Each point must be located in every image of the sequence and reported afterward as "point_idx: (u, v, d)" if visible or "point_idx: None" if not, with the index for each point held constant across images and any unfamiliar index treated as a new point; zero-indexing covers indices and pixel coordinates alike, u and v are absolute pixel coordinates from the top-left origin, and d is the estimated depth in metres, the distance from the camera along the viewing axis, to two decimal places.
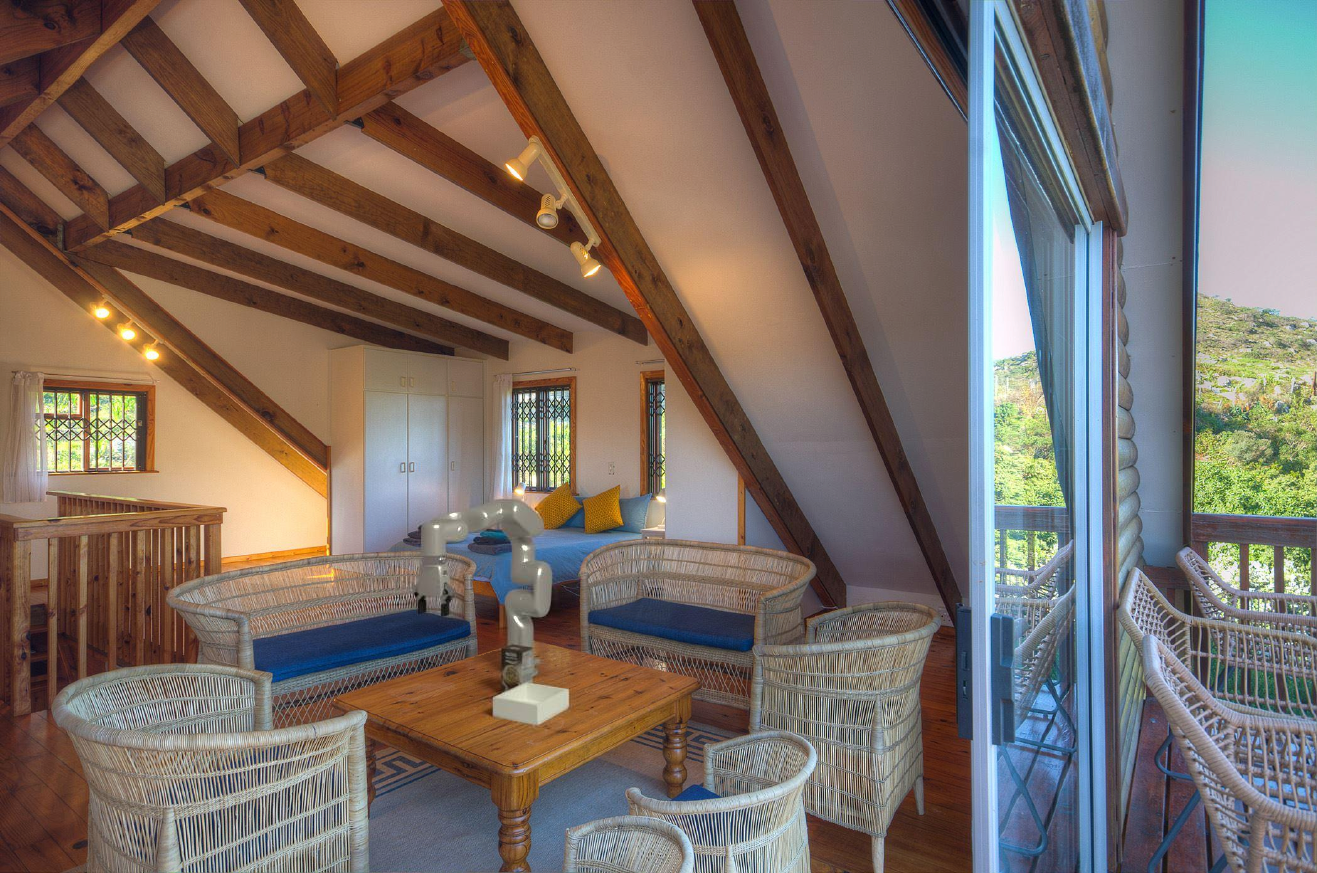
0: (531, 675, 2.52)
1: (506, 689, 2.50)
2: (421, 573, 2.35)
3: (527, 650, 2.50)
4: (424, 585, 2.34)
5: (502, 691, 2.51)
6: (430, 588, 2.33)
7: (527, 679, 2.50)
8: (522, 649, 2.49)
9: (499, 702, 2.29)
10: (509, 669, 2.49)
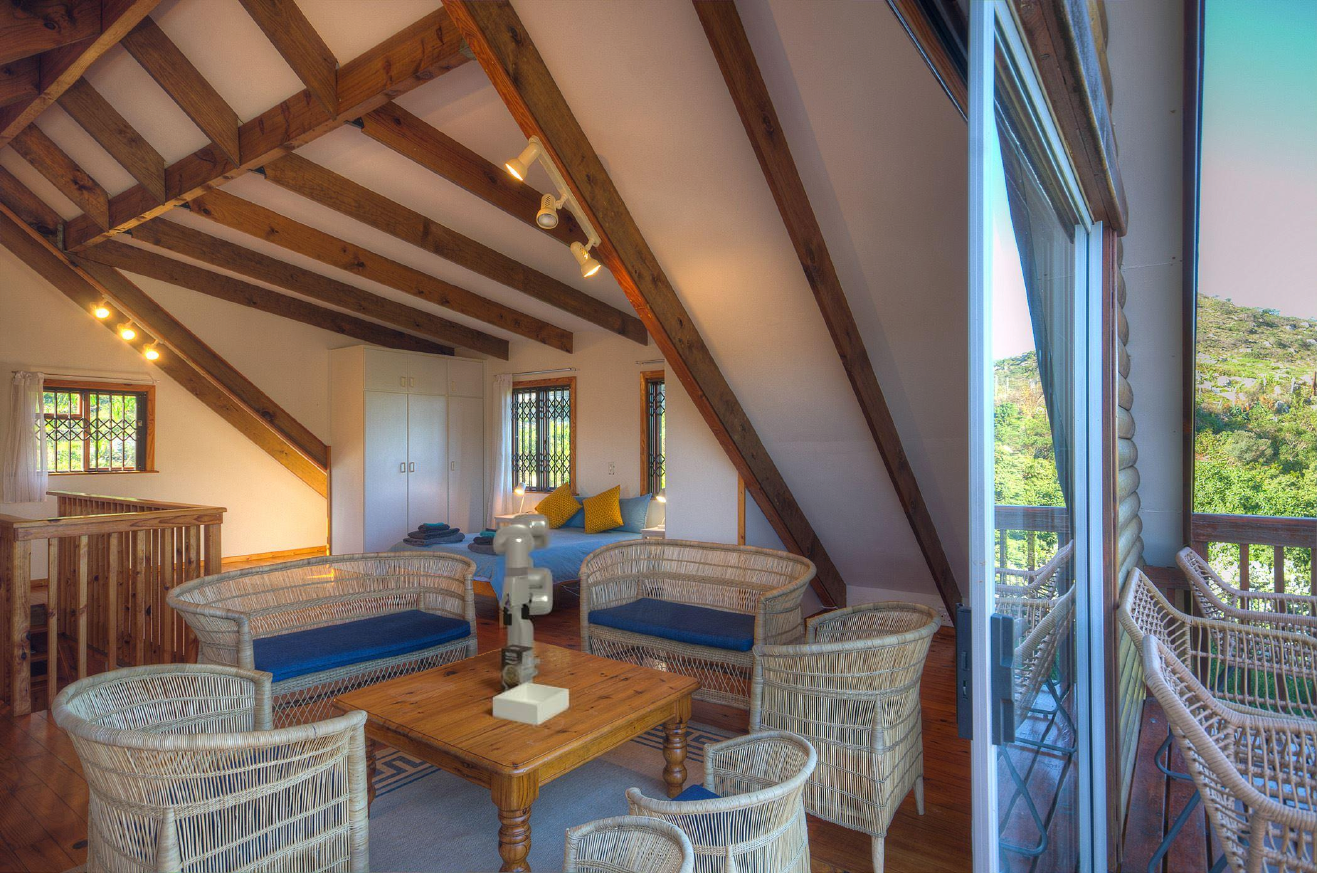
0: (531, 675, 2.52)
1: (506, 689, 2.50)
2: (516, 585, 2.49)
3: (527, 650, 2.50)
4: (519, 595, 2.50)
5: (502, 691, 2.51)
6: (523, 596, 2.52)
7: (527, 679, 2.50)
8: (522, 649, 2.49)
9: (499, 702, 2.29)
10: (509, 669, 2.49)
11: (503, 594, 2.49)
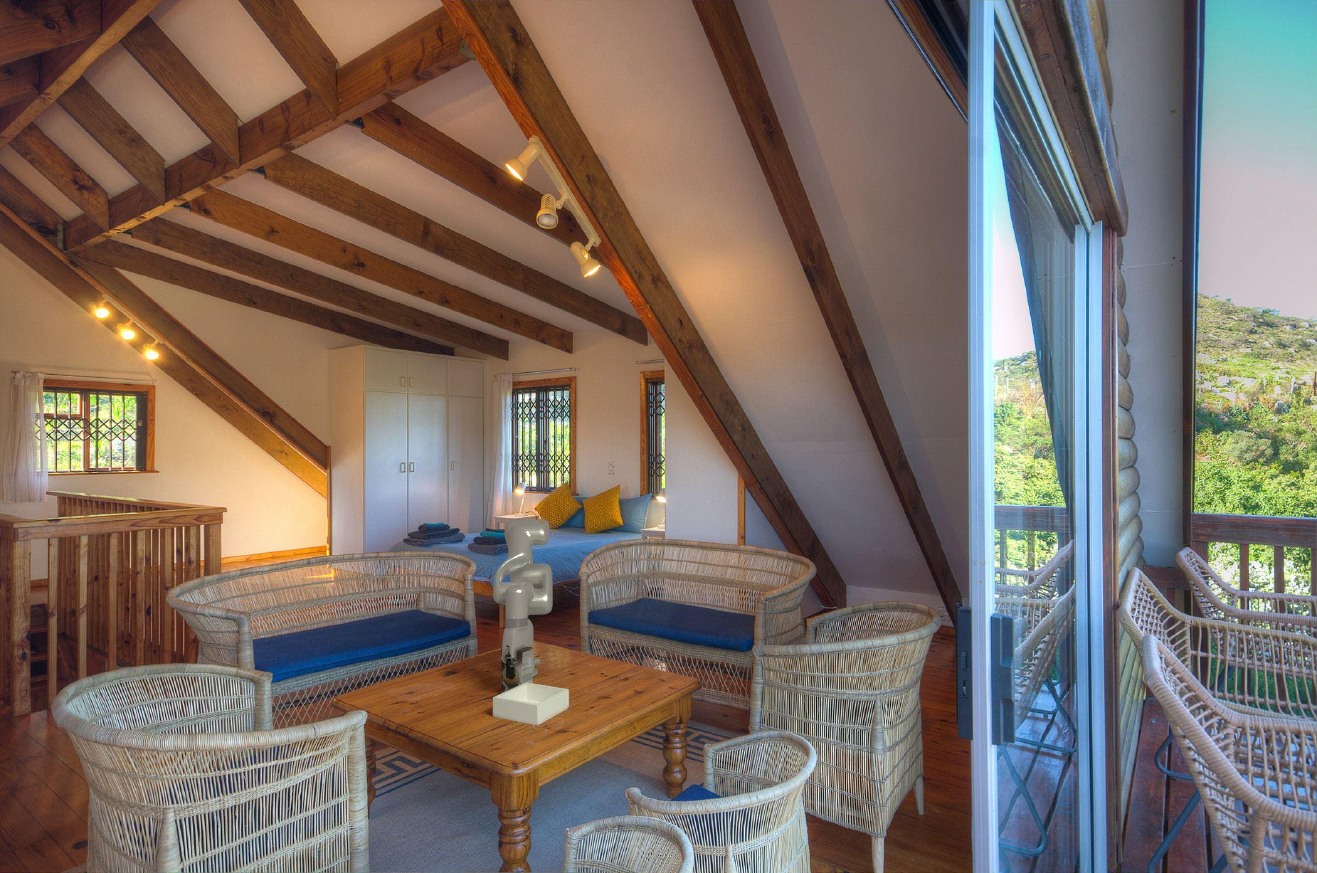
0: (531, 675, 2.52)
1: (506, 689, 2.50)
2: (517, 636, 2.49)
3: (527, 650, 2.50)
4: (519, 646, 2.50)
5: (502, 691, 2.51)
6: (524, 647, 2.52)
7: (527, 679, 2.50)
8: (522, 649, 2.49)
9: (499, 702, 2.29)
10: None
11: (503, 646, 2.48)
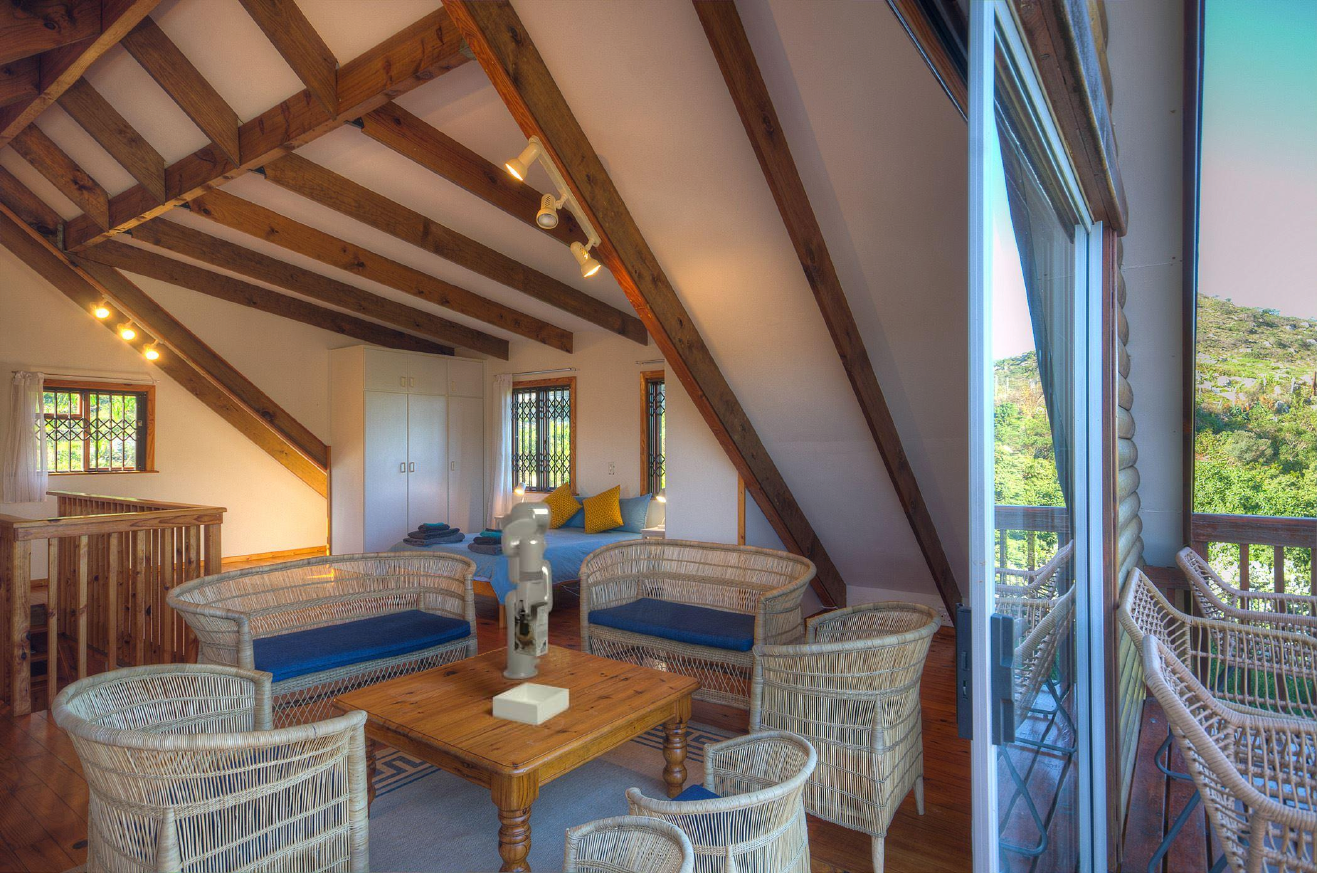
0: (546, 632, 2.35)
1: (520, 647, 2.33)
2: (531, 590, 2.32)
3: (542, 605, 2.33)
4: (534, 601, 2.33)
5: (515, 649, 2.34)
6: (538, 602, 2.35)
7: (542, 636, 2.33)
8: (536, 604, 2.32)
9: (499, 702, 2.29)
10: None
11: (517, 600, 2.31)
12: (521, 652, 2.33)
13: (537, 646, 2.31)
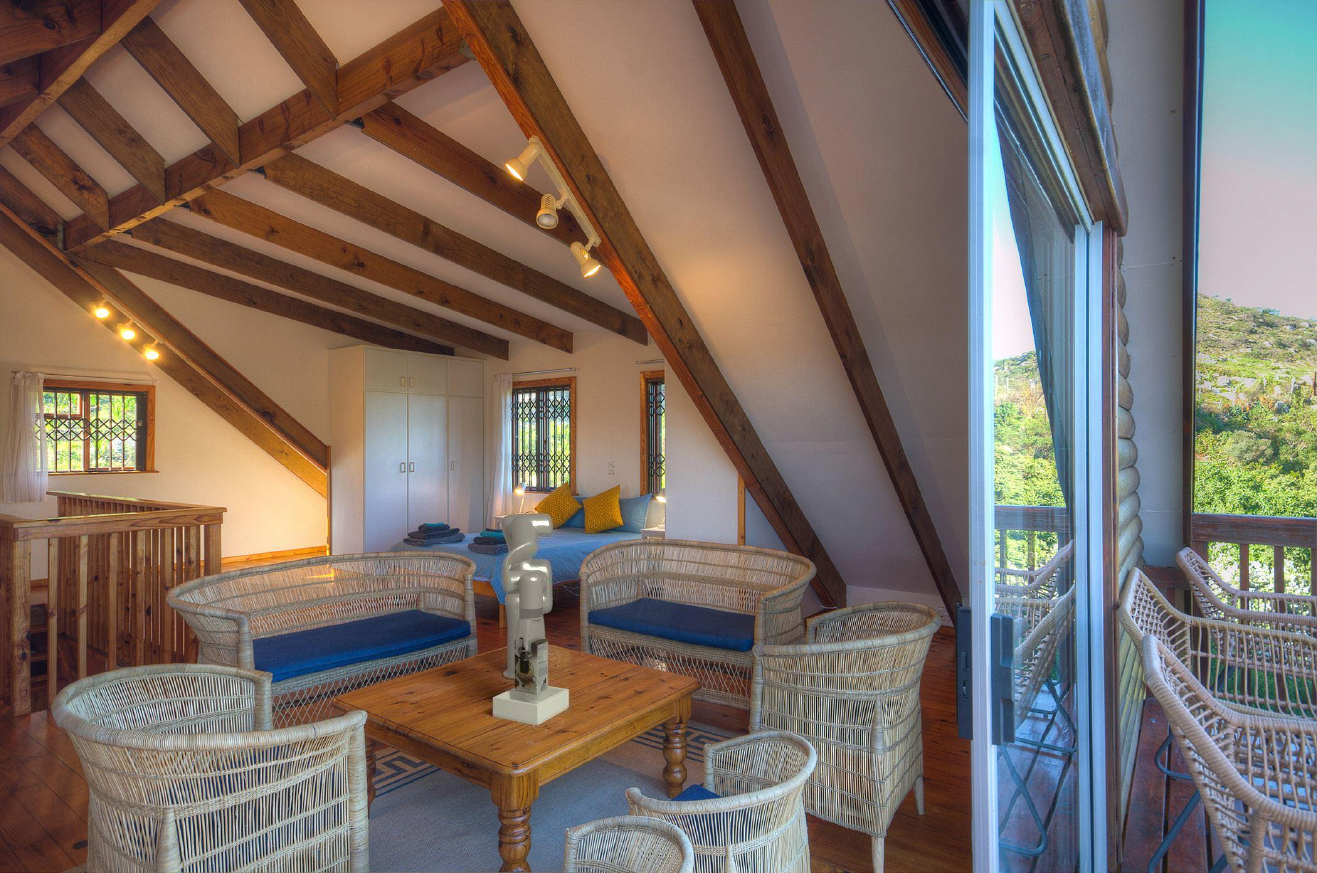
0: (547, 670, 2.34)
1: (520, 684, 2.33)
2: (531, 628, 2.31)
3: (542, 642, 2.33)
4: (534, 639, 2.32)
5: (515, 686, 2.33)
6: (539, 639, 2.35)
7: (542, 674, 2.32)
8: (537, 642, 2.32)
9: (499, 702, 2.29)
10: None
11: (517, 638, 2.31)
12: (521, 690, 2.32)
13: (538, 684, 2.30)
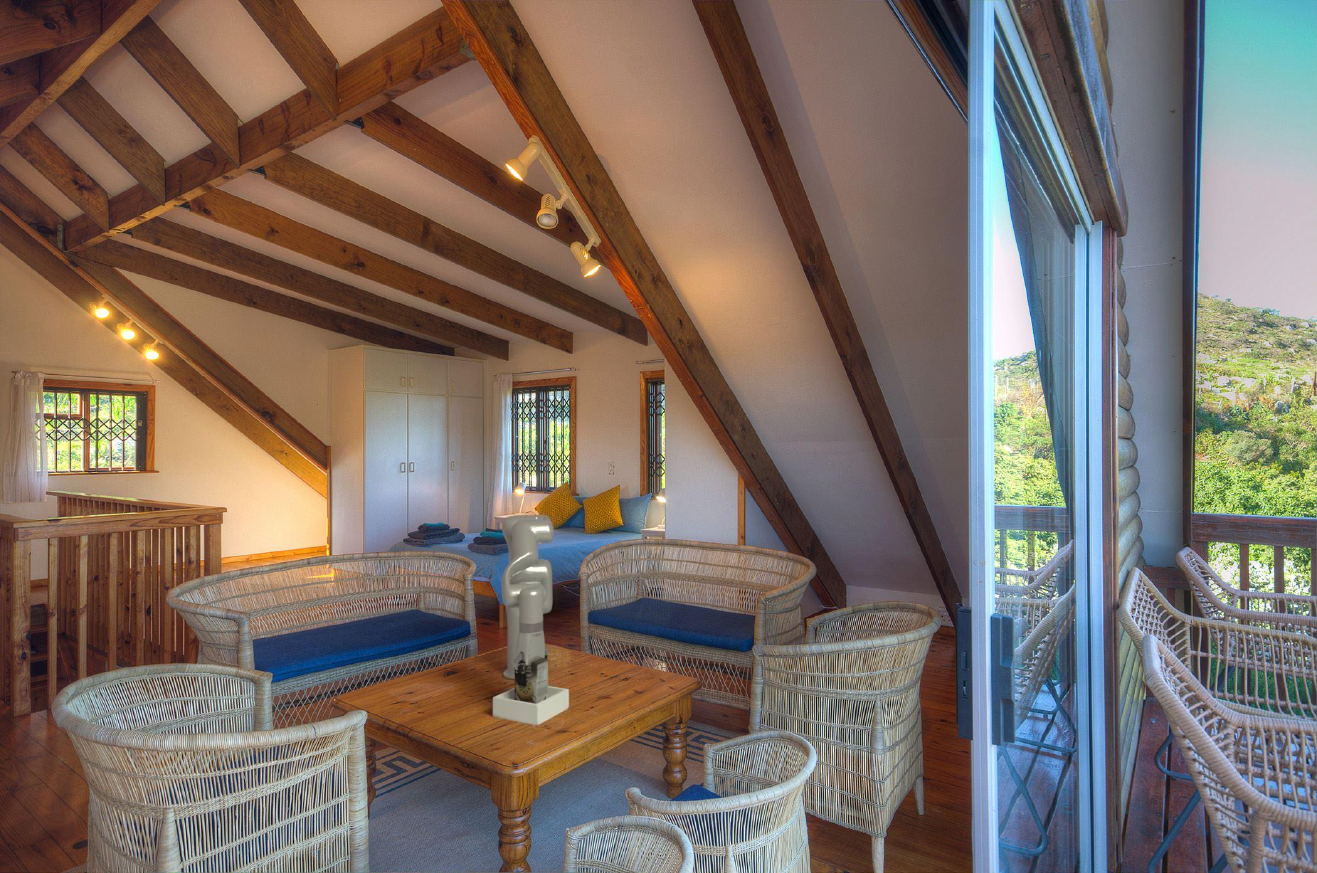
0: (546, 689, 2.35)
1: None
2: (531, 642, 2.31)
3: (542, 662, 2.33)
4: (534, 653, 2.32)
5: None
6: (539, 653, 2.34)
7: (542, 693, 2.33)
8: (536, 661, 2.32)
9: (499, 702, 2.29)
10: None
11: (517, 652, 2.31)
12: None
13: (537, 703, 2.30)
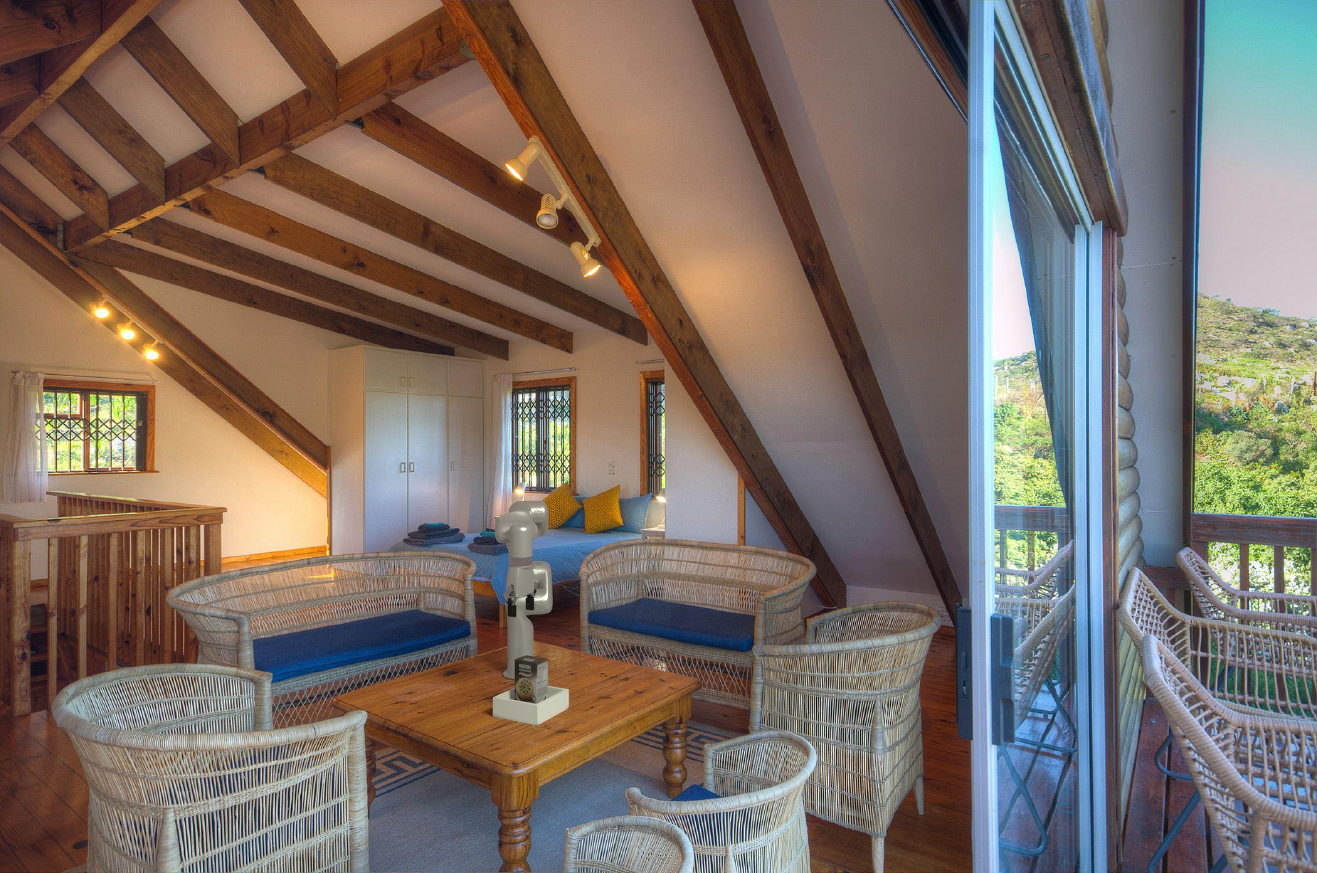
0: (546, 689, 2.35)
1: None
2: (521, 575, 2.40)
3: (542, 662, 2.33)
4: (524, 586, 2.41)
5: None
6: (528, 587, 2.43)
7: (542, 693, 2.33)
8: (536, 661, 2.32)
9: (499, 702, 2.29)
10: (523, 682, 2.32)
11: (507, 585, 2.40)
12: None
13: (537, 703, 2.30)
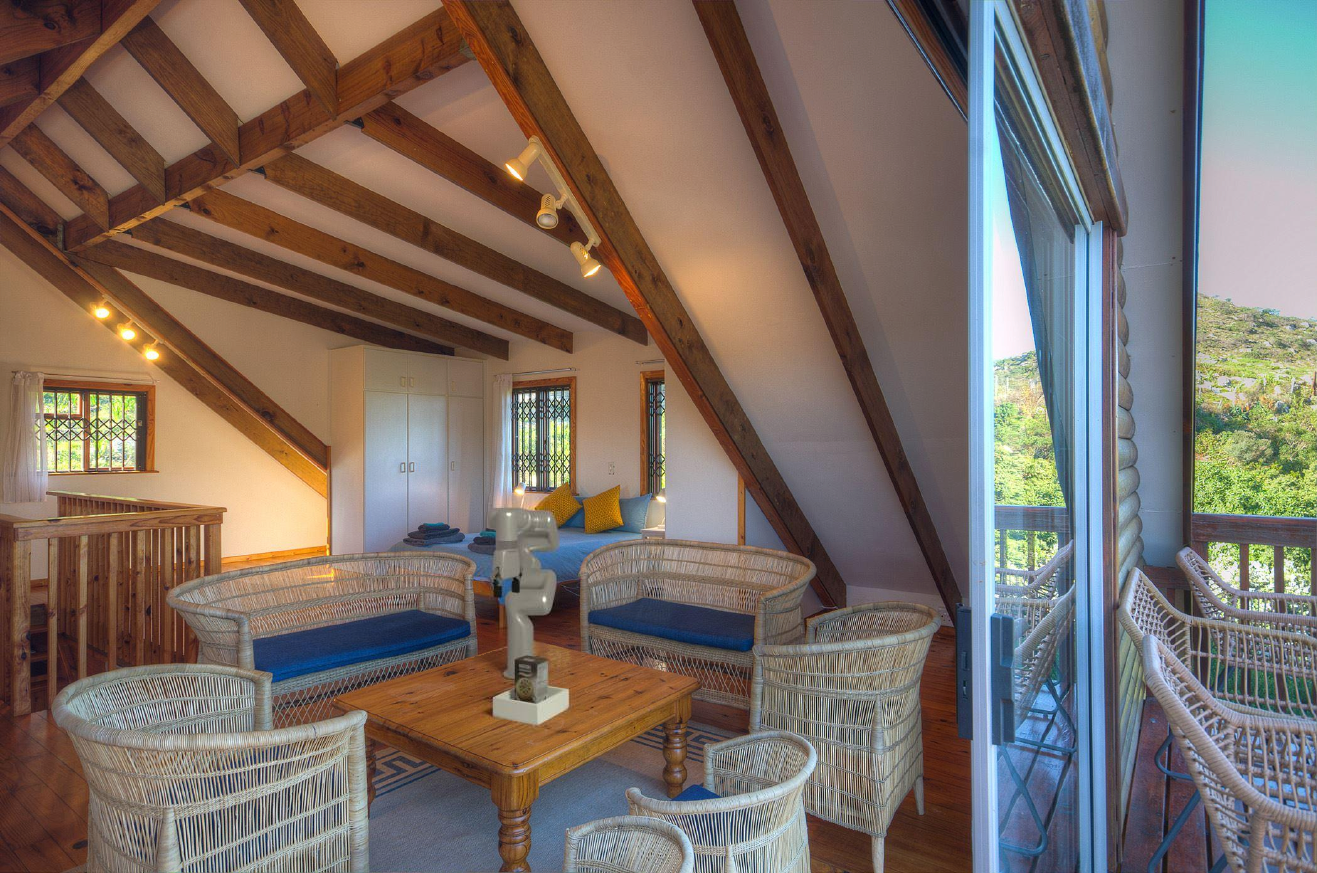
0: (546, 689, 2.35)
1: None
2: (506, 558, 2.52)
3: (542, 662, 2.33)
4: (509, 568, 2.53)
5: None
6: (513, 569, 2.56)
7: (542, 693, 2.33)
8: (536, 661, 2.32)
9: (499, 702, 2.29)
10: (523, 682, 2.32)
11: (493, 567, 2.52)
12: None
13: (537, 703, 2.30)
